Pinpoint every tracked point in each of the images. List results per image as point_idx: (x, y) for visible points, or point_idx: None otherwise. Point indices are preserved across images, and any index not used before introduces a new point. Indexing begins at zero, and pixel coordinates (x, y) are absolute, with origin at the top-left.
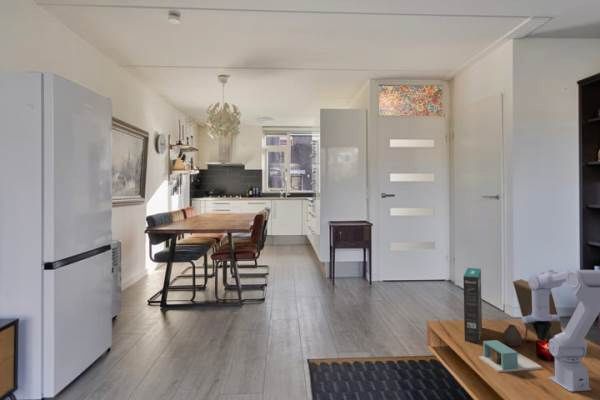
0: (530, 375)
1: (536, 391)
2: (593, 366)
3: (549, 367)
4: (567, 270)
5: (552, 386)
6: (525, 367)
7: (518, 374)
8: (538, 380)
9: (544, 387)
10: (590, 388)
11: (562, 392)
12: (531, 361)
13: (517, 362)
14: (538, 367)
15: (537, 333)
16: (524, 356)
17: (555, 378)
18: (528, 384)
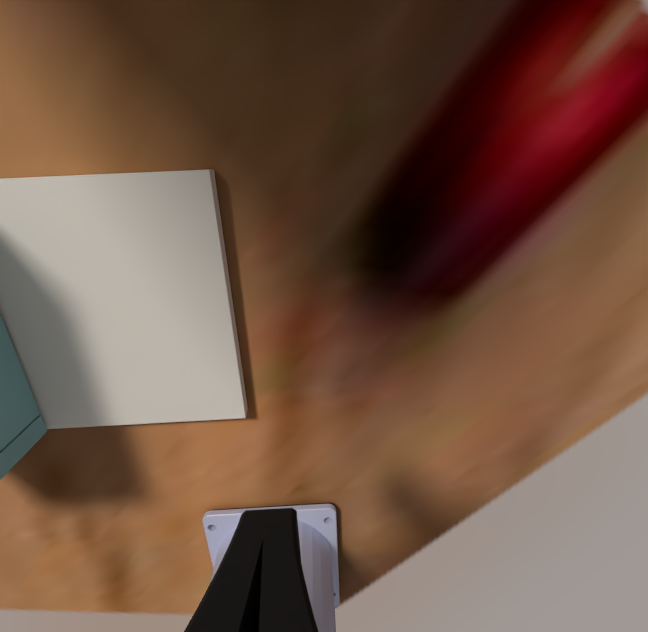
0: (116, 472)
1: (62, 593)
2: (622, 406)
3: (316, 395)
4: None
5: (173, 565)
6: (116, 419)
7: (42, 458)
8: (133, 519)
9: (125, 570)
10: (335, 605)
11: (187, 603)
12: (221, 339)
13: (15, 463)
14: (219, 417)
15: (219, 605)
16: (219, 244)
17: (218, 552)
18: (52, 546)
